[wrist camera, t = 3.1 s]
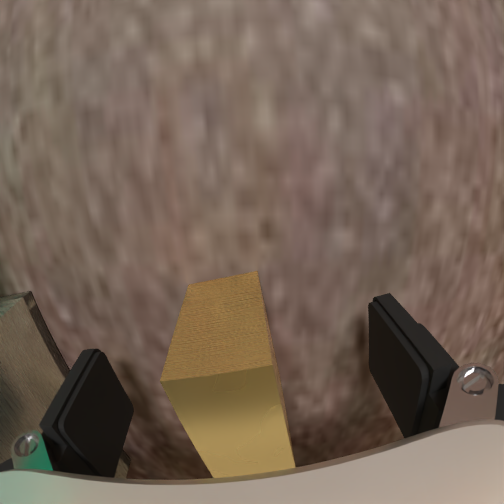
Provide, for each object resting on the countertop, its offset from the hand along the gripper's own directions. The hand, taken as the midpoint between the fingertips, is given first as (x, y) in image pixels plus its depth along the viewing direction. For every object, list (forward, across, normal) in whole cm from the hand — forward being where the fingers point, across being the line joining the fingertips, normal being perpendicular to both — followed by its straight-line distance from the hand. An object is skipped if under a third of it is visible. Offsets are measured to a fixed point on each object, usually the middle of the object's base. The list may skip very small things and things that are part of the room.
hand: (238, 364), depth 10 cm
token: (+2, 0, 0) cm, 2 cm away
